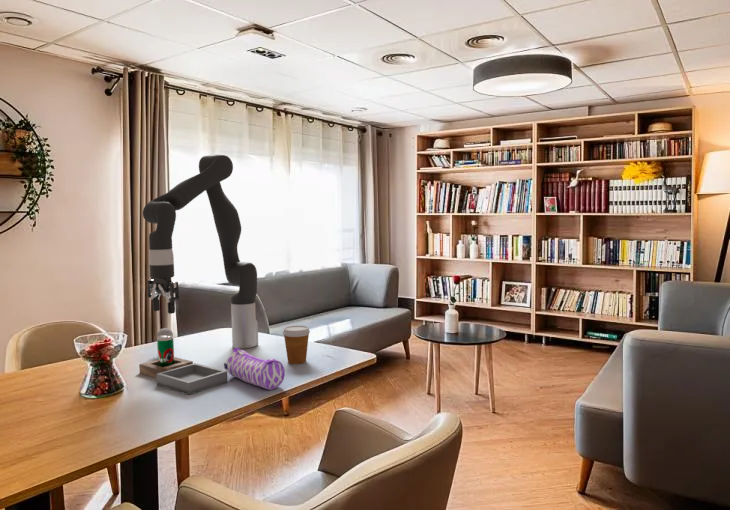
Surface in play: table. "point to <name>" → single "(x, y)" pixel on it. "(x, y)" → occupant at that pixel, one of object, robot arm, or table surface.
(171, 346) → the soda can
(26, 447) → the table surface
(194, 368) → the tray
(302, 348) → the disposable coffee cup
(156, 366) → the square wooden frame
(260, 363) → the pencil case
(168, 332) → the light bulb
